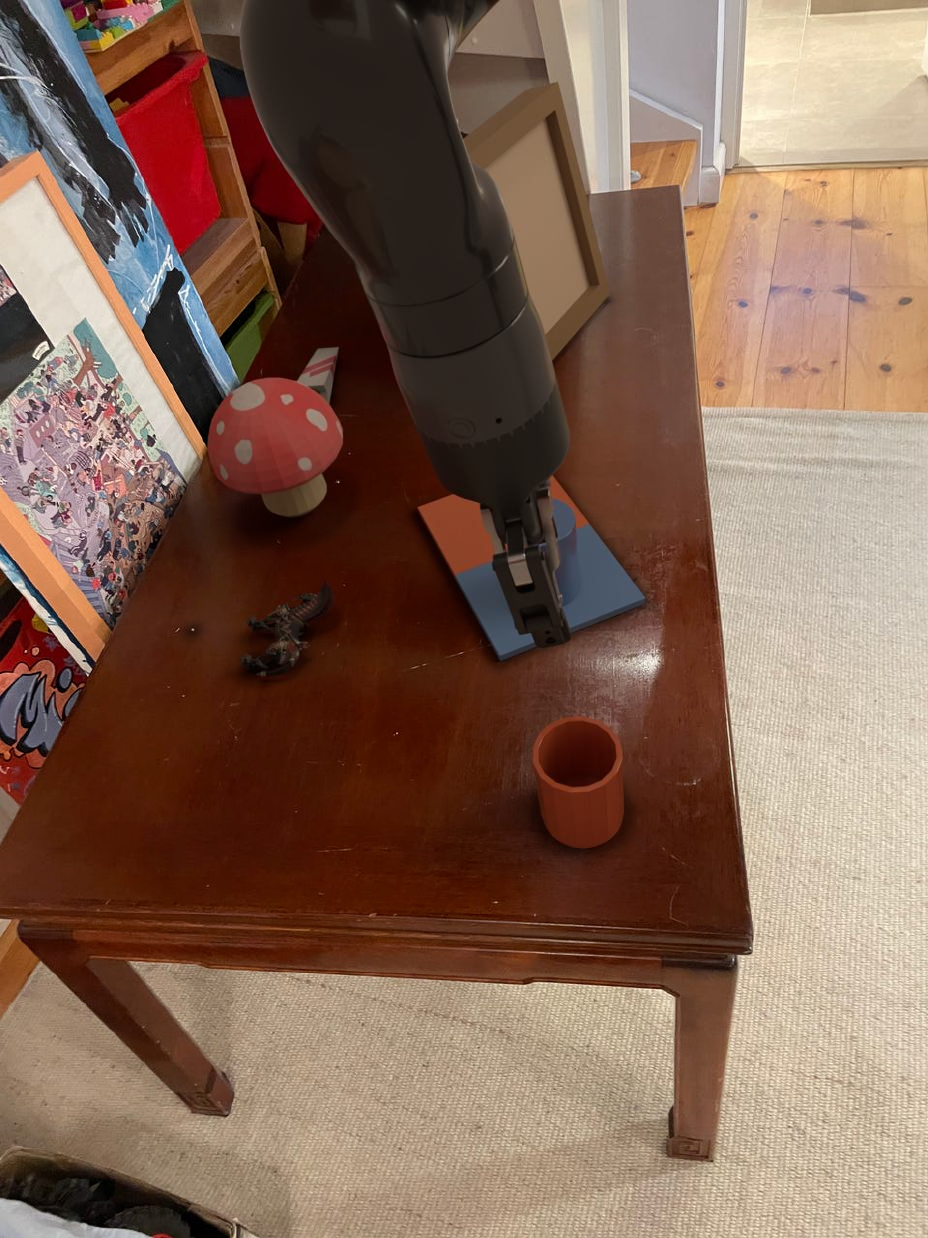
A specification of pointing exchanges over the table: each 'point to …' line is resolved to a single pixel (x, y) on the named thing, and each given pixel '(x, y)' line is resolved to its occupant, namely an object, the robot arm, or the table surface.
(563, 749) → the red cup
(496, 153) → the photo frame
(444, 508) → the board
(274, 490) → the decorative mushroom
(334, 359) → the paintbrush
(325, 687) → the table surface
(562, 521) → the blue cylinder
